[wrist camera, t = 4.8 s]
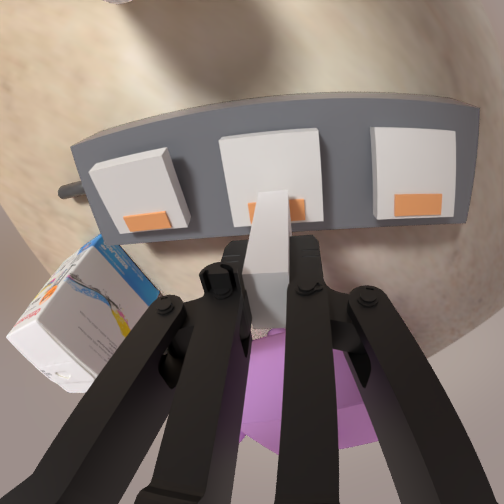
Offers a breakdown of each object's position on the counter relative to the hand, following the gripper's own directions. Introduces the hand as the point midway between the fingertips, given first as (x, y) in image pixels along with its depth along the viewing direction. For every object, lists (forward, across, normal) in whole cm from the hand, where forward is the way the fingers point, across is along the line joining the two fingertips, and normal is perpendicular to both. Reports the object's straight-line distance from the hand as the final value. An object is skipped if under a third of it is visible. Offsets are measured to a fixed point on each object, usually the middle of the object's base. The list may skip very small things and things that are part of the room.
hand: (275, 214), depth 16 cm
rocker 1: (+1, -8, +2) cm, 8 cm away
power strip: (+6, -3, +2) cm, 7 cm away
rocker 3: (+1, +8, +2) cm, 8 cm away
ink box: (+7, -18, -8) cm, 21 cm away
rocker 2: (+1, 0, +2) cm, 2 cm away
